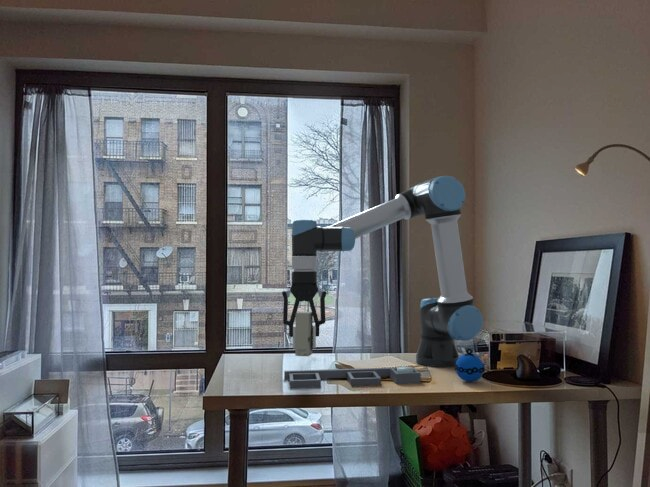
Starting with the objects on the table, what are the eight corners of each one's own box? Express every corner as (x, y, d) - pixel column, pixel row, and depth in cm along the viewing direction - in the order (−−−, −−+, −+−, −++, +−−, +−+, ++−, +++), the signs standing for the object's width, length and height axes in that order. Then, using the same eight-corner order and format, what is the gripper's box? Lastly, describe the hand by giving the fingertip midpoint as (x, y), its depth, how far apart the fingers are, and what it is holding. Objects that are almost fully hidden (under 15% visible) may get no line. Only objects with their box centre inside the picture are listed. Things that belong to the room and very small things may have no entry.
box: (309, 357, 144) (309, 313, 144) (294, 356, 145) (295, 313, 145) (312, 353, 149) (313, 311, 149) (299, 352, 150) (299, 311, 150)
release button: (410, 374, 152) (410, 366, 153) (415, 378, 147) (415, 369, 148) (395, 374, 152) (395, 366, 152) (399, 378, 147) (399, 370, 147)
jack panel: (403, 375, 156) (403, 367, 156) (412, 383, 145) (412, 375, 145) (284, 378, 152) (284, 370, 152) (284, 388, 142) (284, 379, 142)
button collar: (413, 376, 154) (413, 367, 154) (420, 383, 146) (420, 373, 146) (390, 377, 153) (390, 367, 153) (396, 383, 146) (395, 373, 146)
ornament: (455, 384, 145) (454, 350, 145) (455, 377, 153) (454, 345, 153) (485, 386, 142) (484, 352, 143) (483, 379, 151) (483, 346, 151)
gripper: (332, 270, 152) (332, 344, 152) (273, 270, 150) (273, 345, 150) (335, 270, 145) (335, 349, 144) (273, 271, 143) (273, 350, 142)
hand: (304, 347), depth 147 cm, fingers closed on box, 5 cm apart
